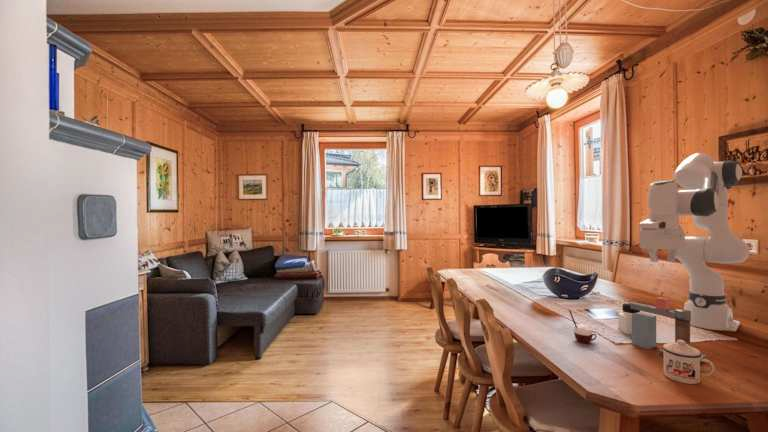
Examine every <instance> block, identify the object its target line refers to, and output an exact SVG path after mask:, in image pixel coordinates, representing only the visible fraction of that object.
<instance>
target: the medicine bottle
mask: <svg viewBox="0 0 768 432" xmlns="http://www.w3.org/2000/svg"><path fill="white" fill-rule="evenodd" d="M630 303H631V302H623V303H622V312H618V313H617V317H618V318H617V319H618V321H617V328H618V329H619V330H620V331H621V332H623V334H625V335H632V314H634V313H638V312H641V311H640V310H635V309H631V308H630Z"/></svg>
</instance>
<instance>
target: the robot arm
mask: <svg viewBox="0 0 768 432" xmlns="http://www.w3.org/2000/svg"><path fill="white" fill-rule="evenodd" d="M742 175H743V169H742V167H741V166H740V163H739V162H737V161H735V160H724V161H714V159H713V157H712V156H711V155H710V154H707V153H705V152H696V153H692V154H691V155H689V156H687V157H686V158H685V159H683V161H681V162H680V163H679V165H678V166H677V168H676V169H675V171H674V175H673V180H672V179H668V180H667V179H666V180H660V181H659V180H657V181H654V182H652V183H650V186H649V190H648V197H647V198H648V199H647V200H648V203H647V204H648V207H649V212H648V215H647V219H644V220H643V221H641V222H639V223H638V228H639V229H640V230H639V235H638V238H639V239H638V240H639V241H638V244H639V247H640V249H641V250H647V253H648V255H649V257H650V258H649V259H650V262H653V263H657V262H658V261H659V257H658V256H657V252H658V251H657V250H668V252H669V254H668V255H667V257H666V258H667V259H666V260H667V261H668V262H675V261H676V259H677V260H678V261H679V262H680V263H681V264H682V265H683V266H684V268H685V269H686V271H687V274H688V277H689V279H688V280H689V290H688V294H687V295H688V296H687V297H688V300H687V301H686V302H684V308H683V309H684V310H689V311H691V321H690V326H694V327H696V328H701V329H707V330H712V331H727V332H737V330H738V328H739V327H740V325H741V322H740V321H739V320H737V319H736V320H735V319H734V316H733V315H734V312H733V310H732V309H731V307H729V305H728V304H727V299H728V294H727V293H725V278H724V276H723V275H722V274H721V273H719V272H717V271H716V270H714V269H711V268H709V267H708V265H707V264H706V263H717V264H719V263H720V264H739V263H740V264H741V263H744V262H745V261H746V260H747V259H748V258H749V256H750V254H751V252H750V251H751V250H750V246H748V244H747V243H746V242H745V241H744V240H743V239H741V238H739V237H737V235H736V234H734V233H733V232H732V230H731V229H730V227H729V224H728V209H729V207H728V206H729V205H728V204H729V203H728V202H729V201H728V200H729V199H728V193H727V190H730V189H732V187H733V186H735V185H736V184H738V183H739V182H740V180H741V178H742ZM679 188H680V190H679ZM680 216H681V217H683V216H686V217H687V216H689V217H690V216H692V224H693V225H694V226H695V227H697V228H698V229H701V230H703V231H705V232H707V233H709V236H693V235H692V236H691V235H687V236H685V231H684V229H683V227H682V226H681V225H680V221H679V219H680Z"/></svg>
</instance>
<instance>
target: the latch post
mask: <svg viewBox="0 0 768 432" xmlns="http://www.w3.org/2000/svg"><path fill="white" fill-rule="evenodd" d="M674 335H675V336H674V342H677V340H683V341H685V342H686V344H688V345H689V346H691V325H690V321H681V320H677V319H674ZM700 353H701V352H700ZM658 356H661V357H664V349H663V348H662V349H660V350H658ZM700 358H702V359H706V360H708V354H705V353H704V354H703V353H701V356H700ZM701 363H703V362H702V361H700V364H701Z"/></svg>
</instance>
